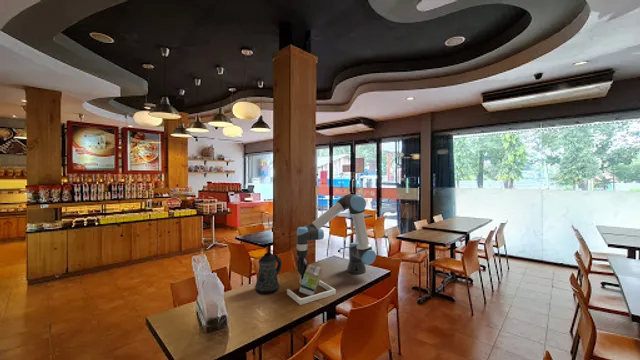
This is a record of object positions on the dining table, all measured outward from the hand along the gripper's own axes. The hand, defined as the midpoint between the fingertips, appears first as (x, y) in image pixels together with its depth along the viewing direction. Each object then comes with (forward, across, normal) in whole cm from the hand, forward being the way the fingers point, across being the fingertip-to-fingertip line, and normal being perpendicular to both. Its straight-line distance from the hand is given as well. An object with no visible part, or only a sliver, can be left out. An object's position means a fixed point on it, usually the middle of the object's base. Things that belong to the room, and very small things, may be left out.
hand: (301, 282), depth 190 cm
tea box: (+2, +8, +1) cm, 8 cm away
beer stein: (+4, -11, -20) cm, 23 cm away
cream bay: (+3, +12, +1) cm, 13 cm away
